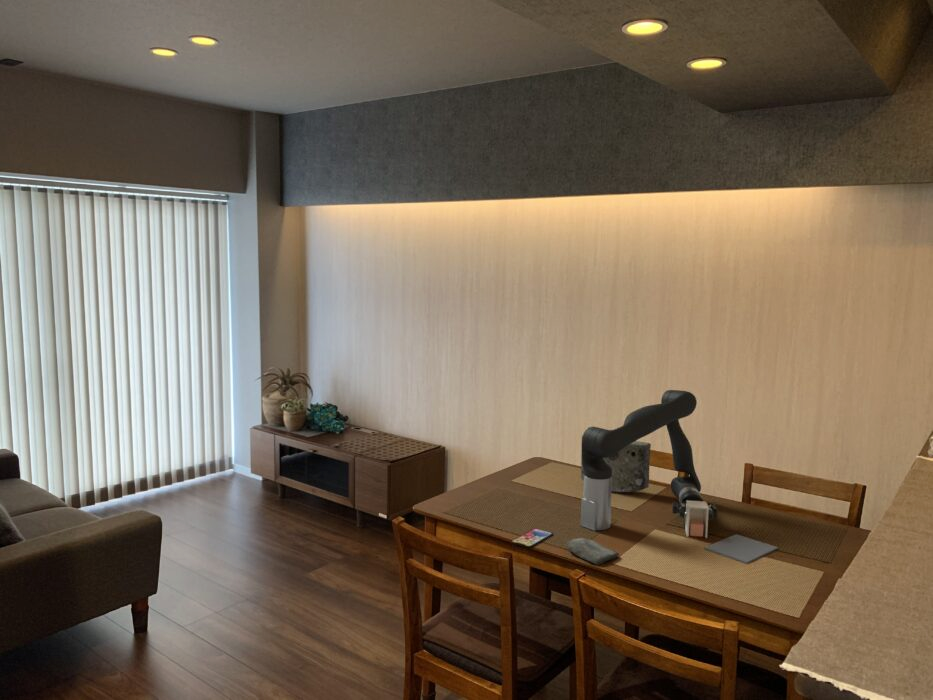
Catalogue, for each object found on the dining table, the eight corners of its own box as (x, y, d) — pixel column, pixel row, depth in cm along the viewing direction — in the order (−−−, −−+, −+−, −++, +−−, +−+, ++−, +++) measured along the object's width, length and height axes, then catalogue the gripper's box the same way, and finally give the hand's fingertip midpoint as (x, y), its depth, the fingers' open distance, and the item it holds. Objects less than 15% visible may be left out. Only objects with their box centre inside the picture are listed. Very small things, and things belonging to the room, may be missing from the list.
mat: (746, 563, 213) (746, 562, 213) (704, 549, 224) (704, 547, 224) (777, 548, 225) (777, 547, 225) (736, 535, 236) (736, 533, 235)
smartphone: (554, 533, 235) (529, 546, 223) (554, 535, 235) (529, 549, 223) (534, 528, 240) (509, 541, 228) (534, 530, 240) (509, 544, 228)
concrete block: (576, 485, 286) (577, 436, 284) (585, 480, 293) (587, 432, 291) (640, 498, 271) (642, 446, 269) (649, 492, 278) (651, 441, 276)
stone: (559, 549, 222) (595, 573, 211) (559, 538, 221) (596, 561, 210) (583, 538, 229) (620, 560, 218) (584, 526, 228) (621, 548, 217)
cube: (690, 535, 235) (690, 524, 235) (688, 531, 239) (689, 519, 239) (703, 536, 234) (703, 524, 234) (701, 532, 238) (702, 520, 238)
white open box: (687, 536, 234) (688, 506, 233) (685, 529, 240) (686, 500, 239) (707, 538, 233) (708, 507, 232) (704, 531, 239) (706, 501, 238)
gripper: (670, 488, 252) (674, 503, 236) (712, 491, 250) (720, 506, 234) (669, 509, 253) (673, 525, 237) (711, 512, 251) (719, 529, 235)
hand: (696, 516), depth 236 cm, fingers open, 8 cm apart
